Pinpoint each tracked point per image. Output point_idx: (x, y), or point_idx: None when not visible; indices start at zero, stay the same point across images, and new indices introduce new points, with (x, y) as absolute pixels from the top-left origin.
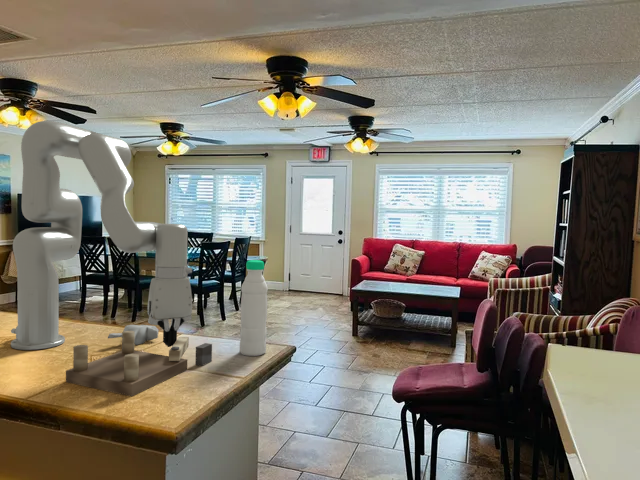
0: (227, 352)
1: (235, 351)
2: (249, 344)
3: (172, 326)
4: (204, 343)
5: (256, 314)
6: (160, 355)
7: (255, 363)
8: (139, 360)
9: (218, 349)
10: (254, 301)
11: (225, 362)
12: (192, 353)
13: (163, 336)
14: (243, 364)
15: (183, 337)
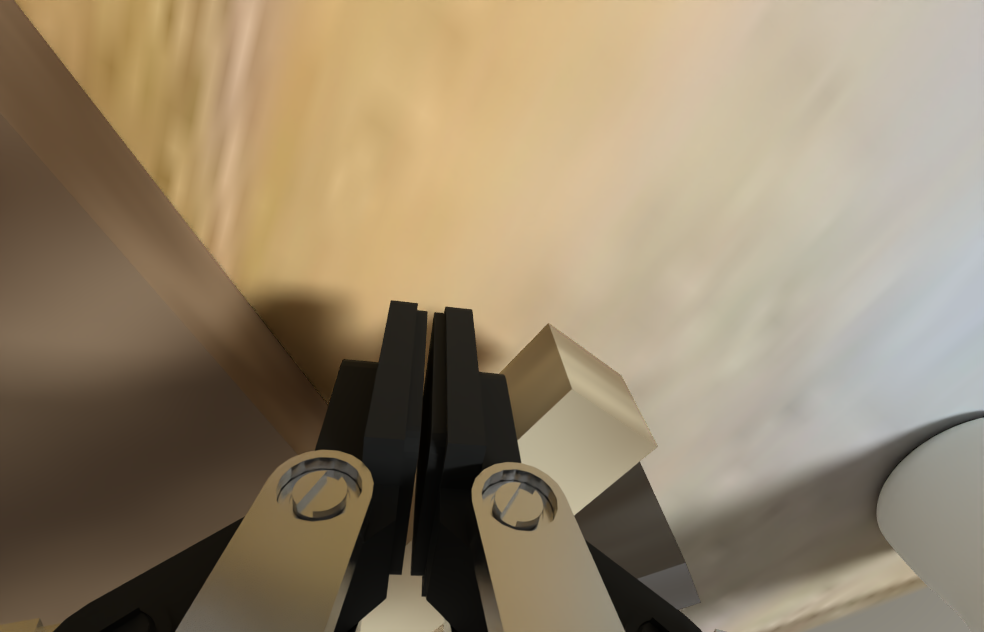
0: (880, 384)
1: (934, 395)
2: (941, 595)
3: (449, 590)
4: (669, 569)
5: None
6: (271, 447)
7: (783, 602)
8: (49, 473)
9: (917, 280)
10: None
11: (690, 530)
12: (684, 250)
13: (330, 409)
14: (729, 589)
15: (597, 436)
